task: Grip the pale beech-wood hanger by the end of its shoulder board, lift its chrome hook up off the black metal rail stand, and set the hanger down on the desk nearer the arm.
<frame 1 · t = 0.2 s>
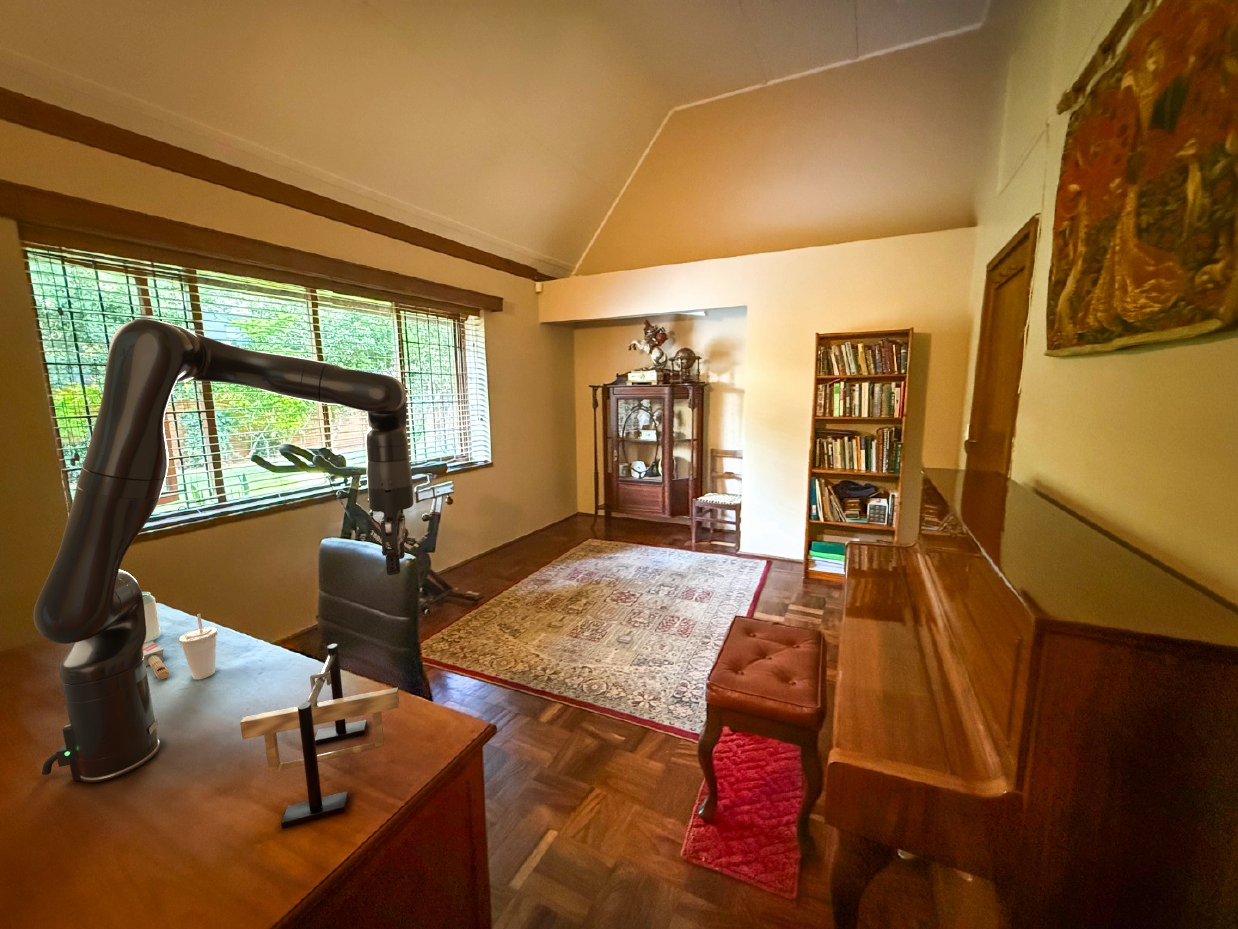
hand: (396, 566, 90), 29 cm above the table, tool pointing down, fingers open, 8 cm apart
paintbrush: (154, 664, 108), on the table
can: (141, 641, 118), on the table
rail stand: (330, 769, 78), on the table
hanger: (329, 758, 78), point 2 cm above the table, touching rail stand
smoothie: (204, 675, 104), on the table
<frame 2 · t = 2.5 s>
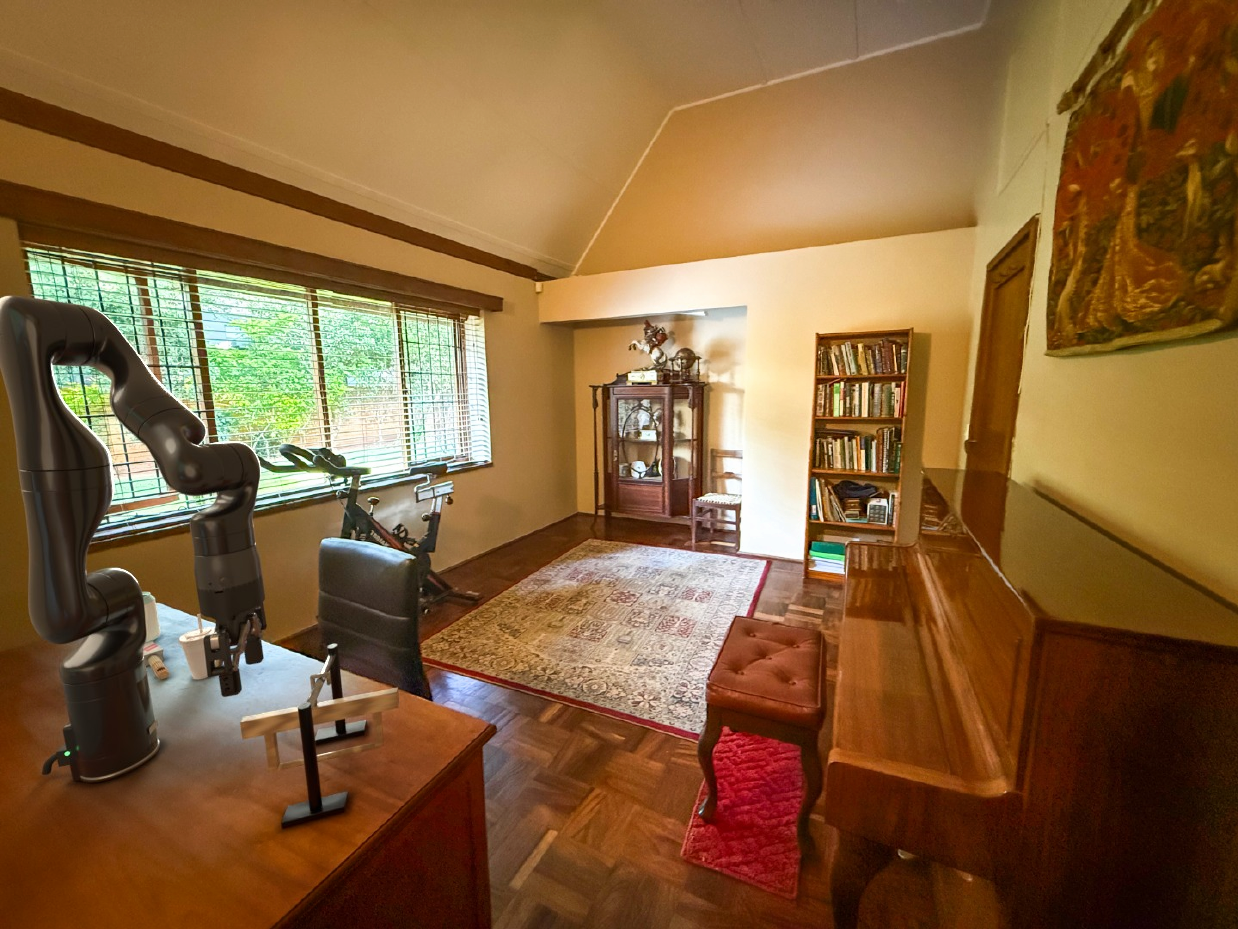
hand: (244, 677, 72), 19 cm above the table, tool pointing down, fingers open, 8 cm apart
nothing on the table moved.
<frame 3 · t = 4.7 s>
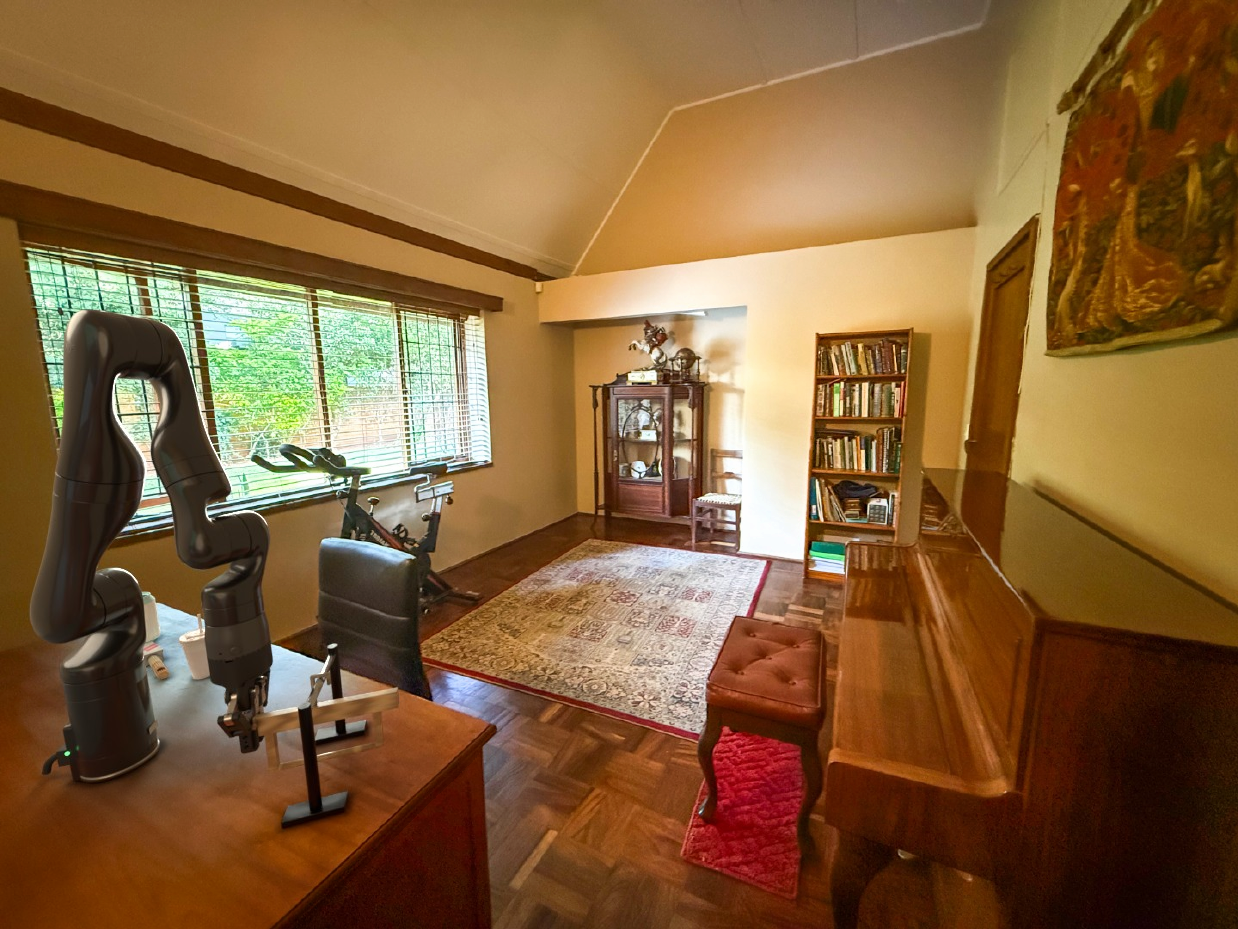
hand: (253, 746, 73), 7 cm above the table, tool pointing down, fingers closed on hanger, 1 cm apart
hanger: (329, 758, 78), point 2 cm above the table, touching gripper, rail stand
everything else where it was.
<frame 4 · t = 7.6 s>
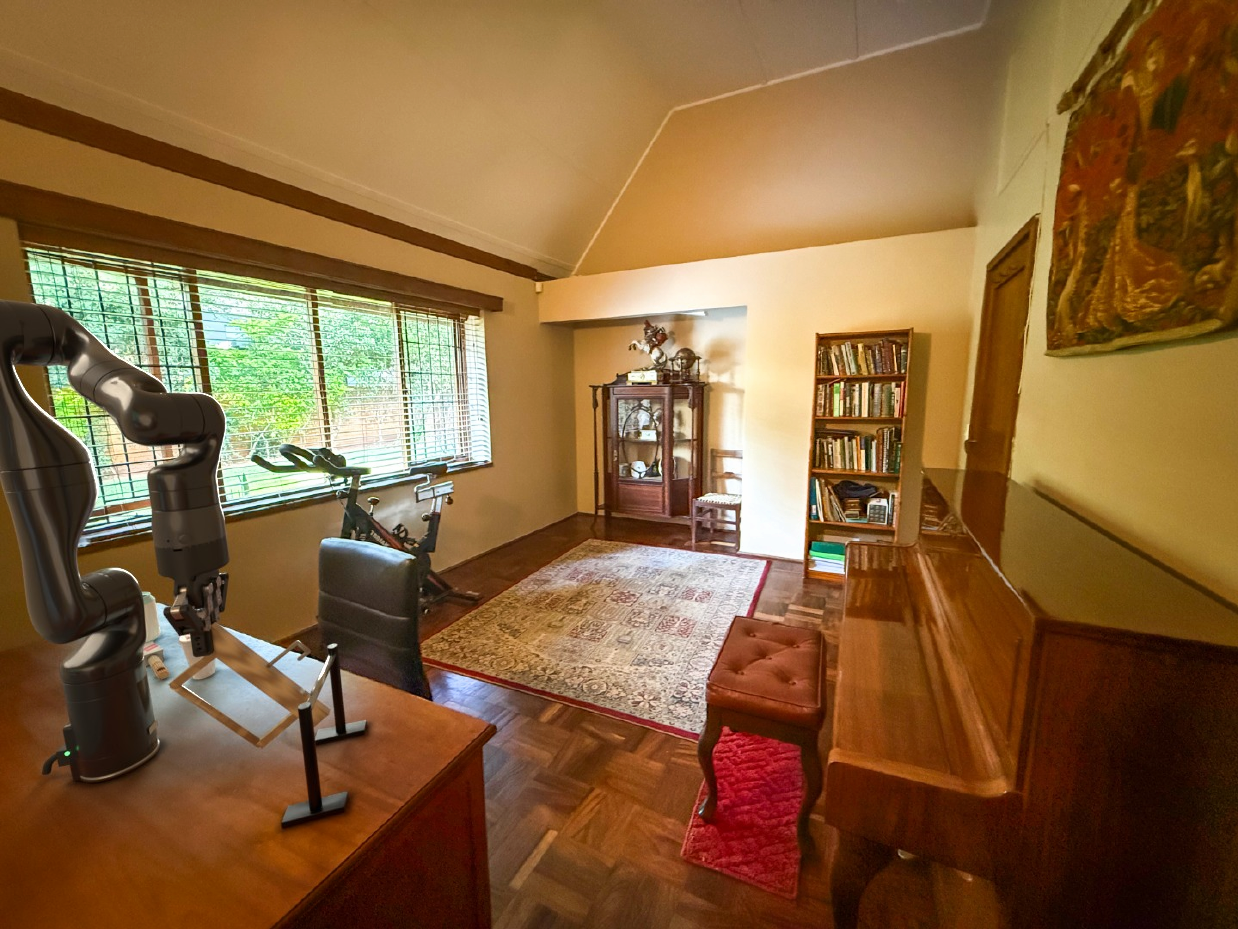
hand: (207, 651, 68), 25 cm above the table, tool pointing down, fingers closed on hanger, 1 cm apart
hanger: (215, 718, 70), point 14 cm above the table, tilted 53°, touching gripper
everything else where it was.
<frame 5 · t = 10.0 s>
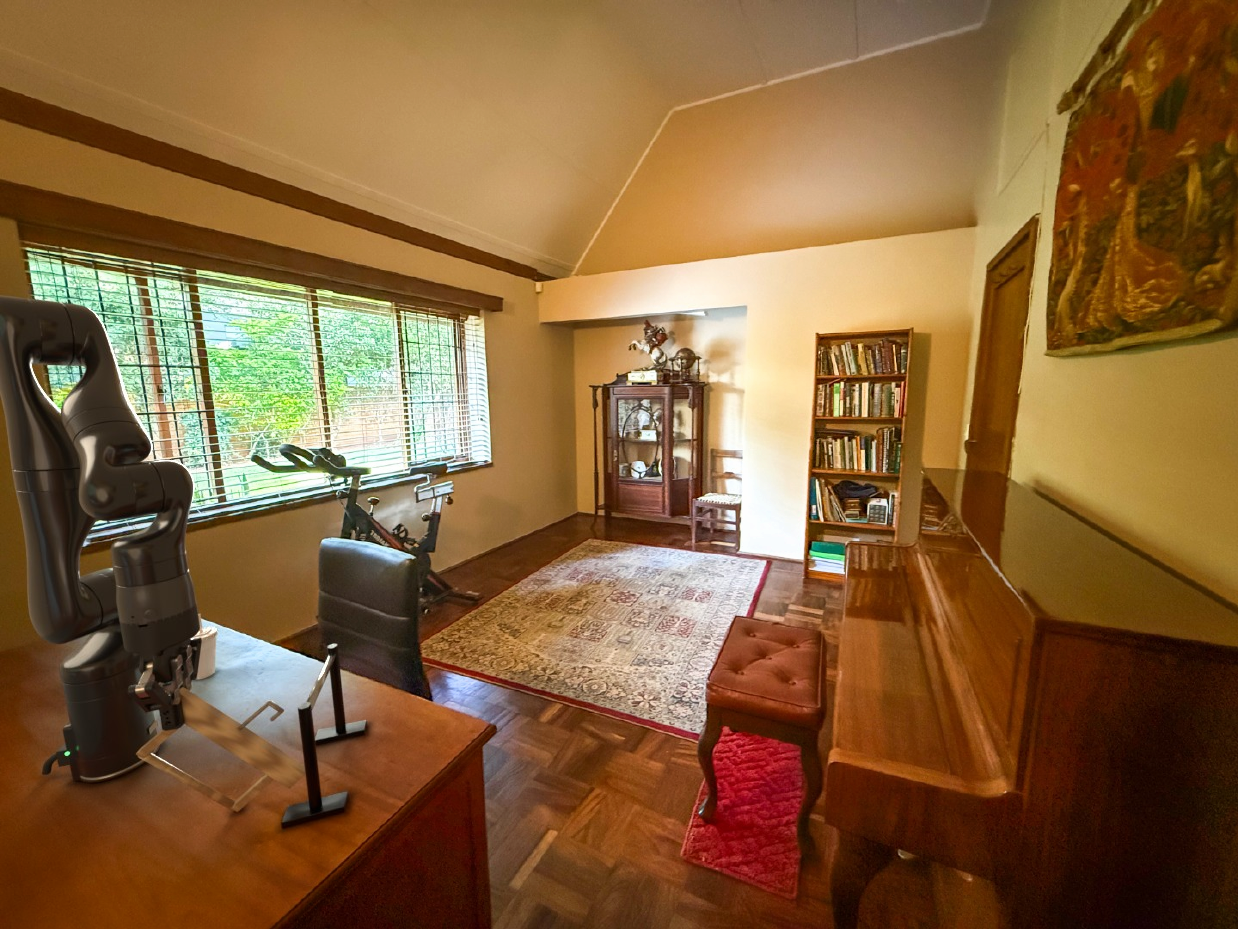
hand: (177, 723, 66), 16 cm above the table, tool pointing down, fingers closed on hanger, 1 cm apart
hanger: (187, 784, 68), point 6 cm above the table, tilted 51°, touching gripper
everything else where it was.
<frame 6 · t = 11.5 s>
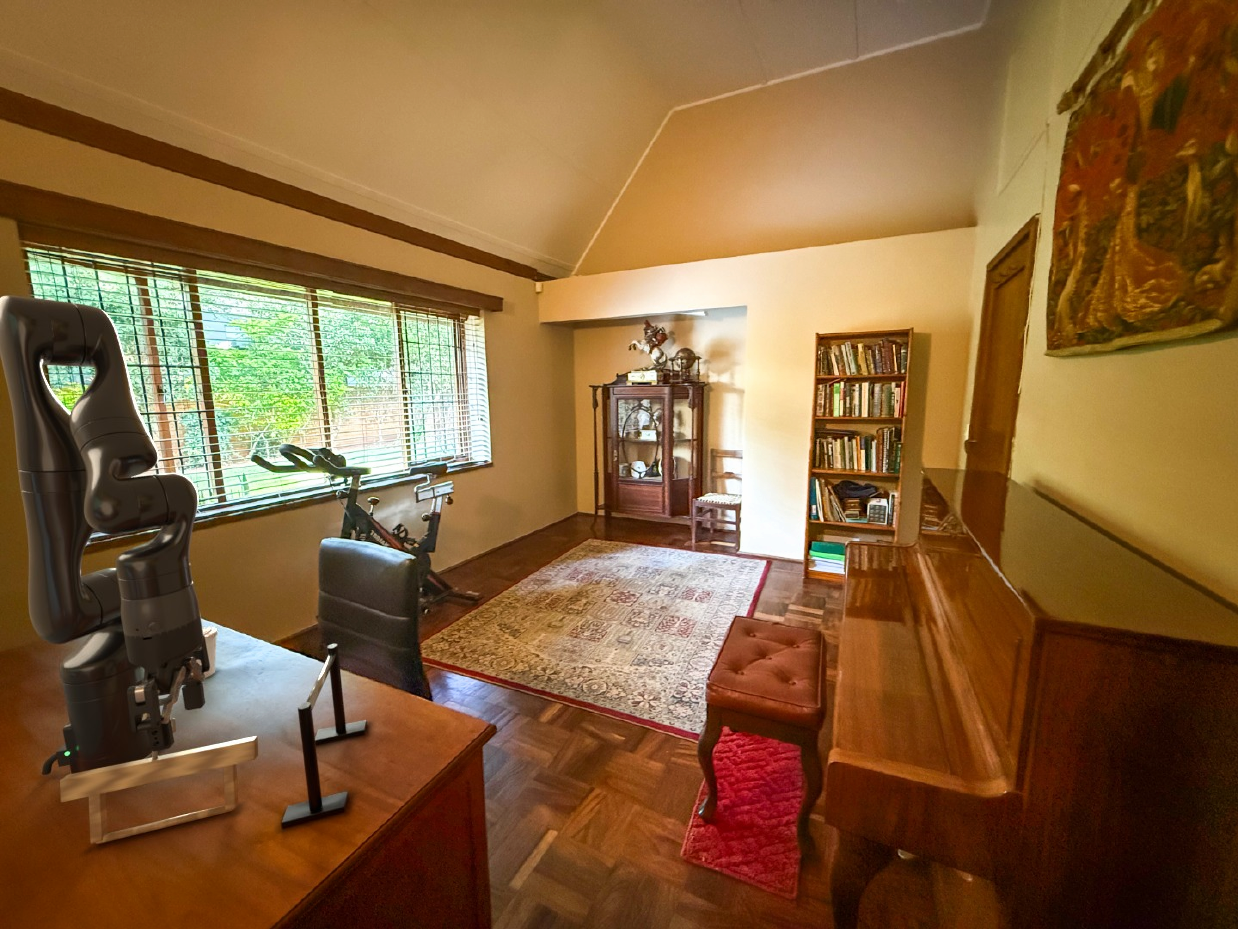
hand: (180, 727, 66), 15 cm above the table, tool pointing down, fingers open, 8 cm apart
hanger: (168, 826, 68), on the table, tilted 10°
everything else where it was.
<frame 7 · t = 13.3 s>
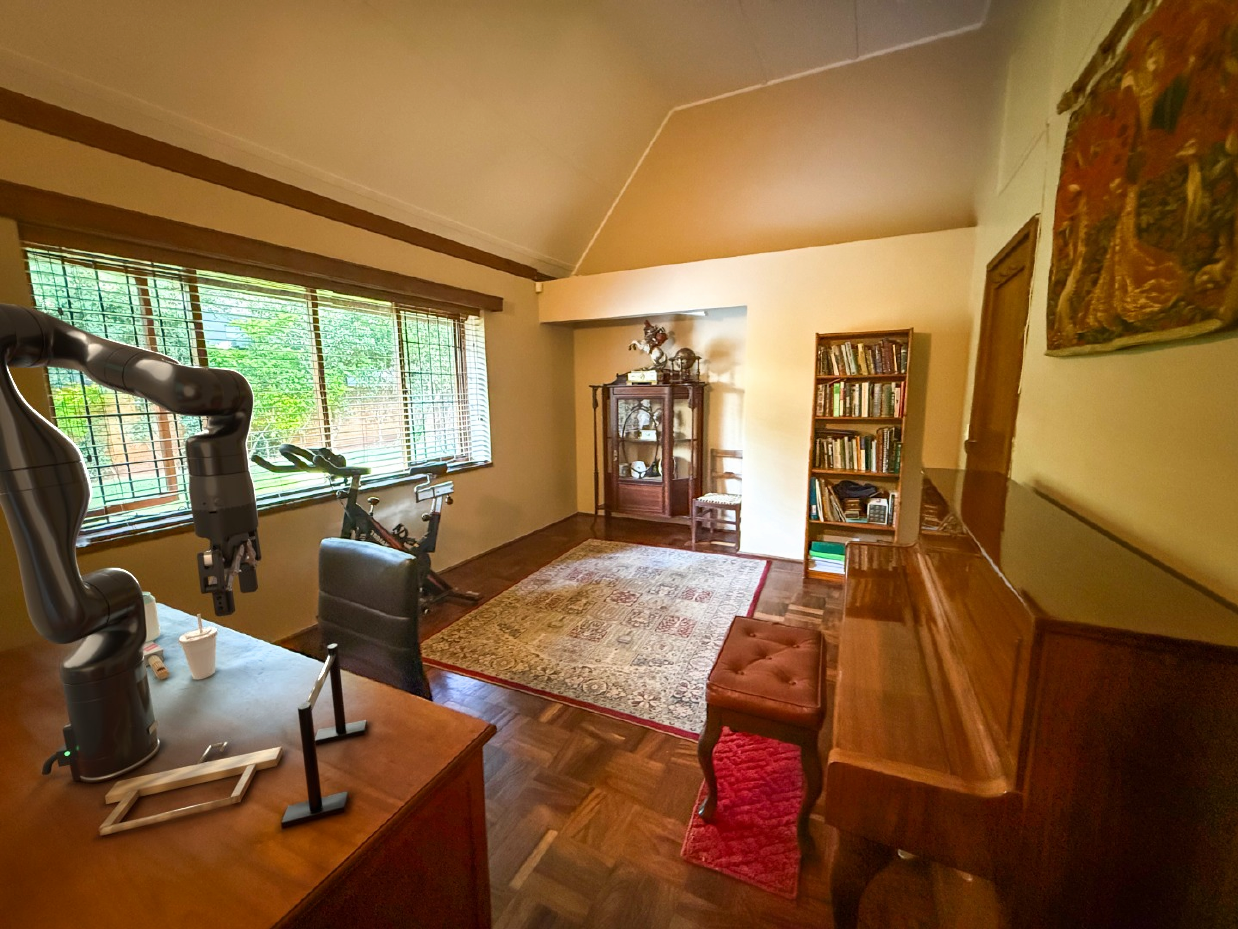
hand: (238, 602, 73), 30 cm above the table, tool pointing down, fingers open, 8 cm apart
hanger: (170, 817, 68), point 1 cm above the table, tilted 90°
everything else where it was.
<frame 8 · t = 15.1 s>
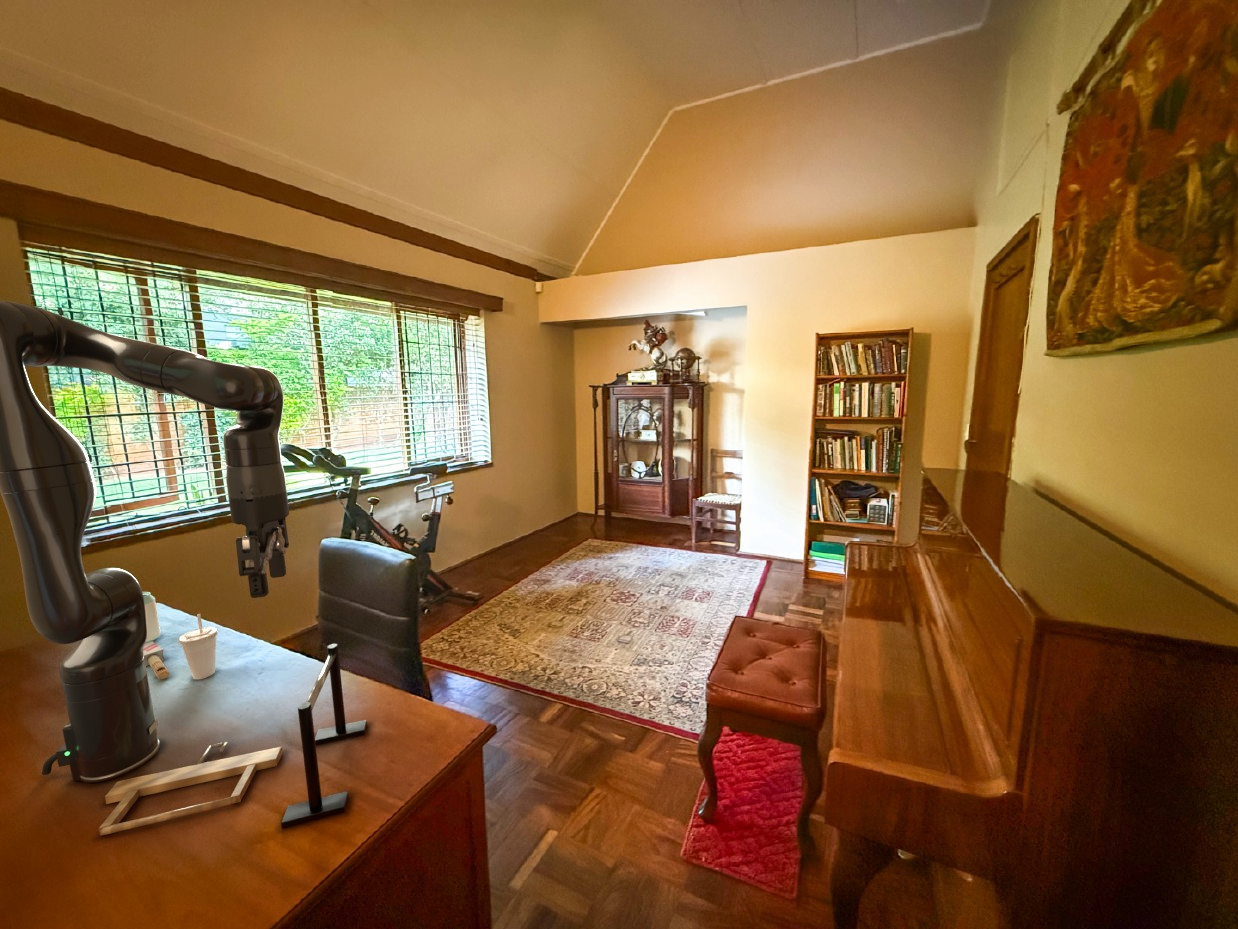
hand: (269, 586, 78), 30 cm above the table, tool pointing down, fingers open, 8 cm apart
nothing on the table moved.
at the end: hanger touching table; hanger inside the target area (5.6 cm from its centre), point 0.7 cm above the table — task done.
